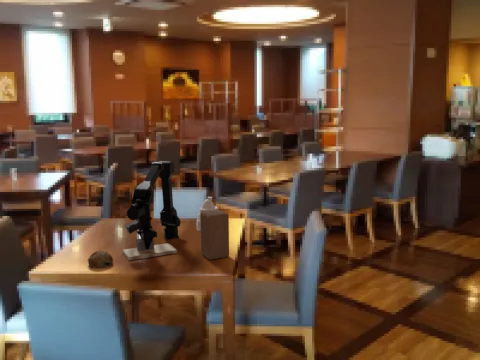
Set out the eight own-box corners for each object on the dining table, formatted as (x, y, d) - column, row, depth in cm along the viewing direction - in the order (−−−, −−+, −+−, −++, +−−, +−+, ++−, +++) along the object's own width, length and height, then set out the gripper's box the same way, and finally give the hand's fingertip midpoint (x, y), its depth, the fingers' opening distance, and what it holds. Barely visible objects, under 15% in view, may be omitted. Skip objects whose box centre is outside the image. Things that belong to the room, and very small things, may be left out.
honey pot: (225, 229, 259) (224, 196, 256) (205, 233, 251) (205, 200, 248) (210, 224, 269) (210, 193, 266) (192, 228, 261) (191, 196, 258)
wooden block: (209, 260, 208) (208, 216, 204) (200, 254, 216) (199, 211, 213) (230, 257, 212) (229, 213, 209) (220, 251, 221) (219, 208, 218)
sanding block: (151, 247, 222) (151, 237, 221) (154, 250, 218) (153, 239, 217) (136, 249, 219) (136, 239, 218) (139, 252, 215) (138, 241, 214)
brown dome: (96, 277, 199) (101, 262, 196) (81, 264, 203) (85, 248, 200) (114, 270, 207) (119, 256, 204) (99, 257, 211) (103, 242, 208)
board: (168, 246, 230) (168, 243, 229) (176, 253, 219) (176, 249, 219) (122, 252, 220) (122, 249, 220) (128, 260, 209) (128, 257, 209)
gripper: (121, 212, 221) (123, 245, 223) (131, 221, 204) (133, 256, 207) (145, 209, 225) (147, 241, 228) (156, 218, 209) (158, 252, 212)
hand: (145, 248), depth 218 cm, fingers closed on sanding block, 4 cm apart
